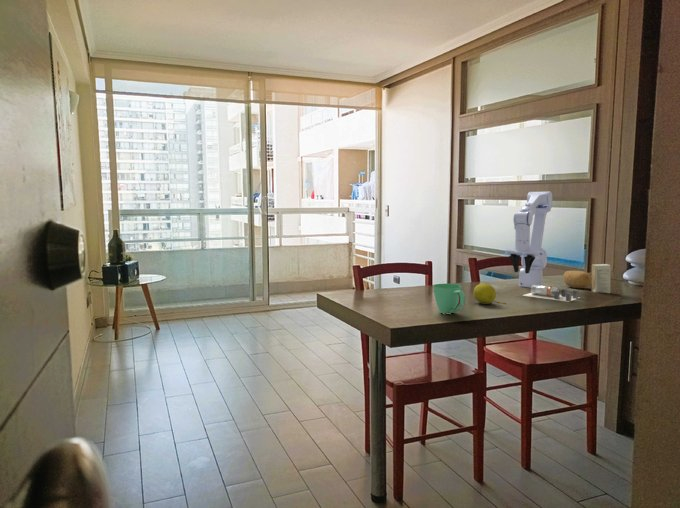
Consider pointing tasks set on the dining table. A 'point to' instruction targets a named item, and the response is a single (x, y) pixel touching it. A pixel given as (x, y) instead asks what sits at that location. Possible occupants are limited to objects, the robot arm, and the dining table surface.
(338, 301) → the dining table surface
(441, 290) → the mug
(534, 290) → the tube
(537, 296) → the board
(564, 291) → the collar
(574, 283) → the potato
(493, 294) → the lemon
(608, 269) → the skincare box
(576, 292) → the collar
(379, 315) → the dining table surface
